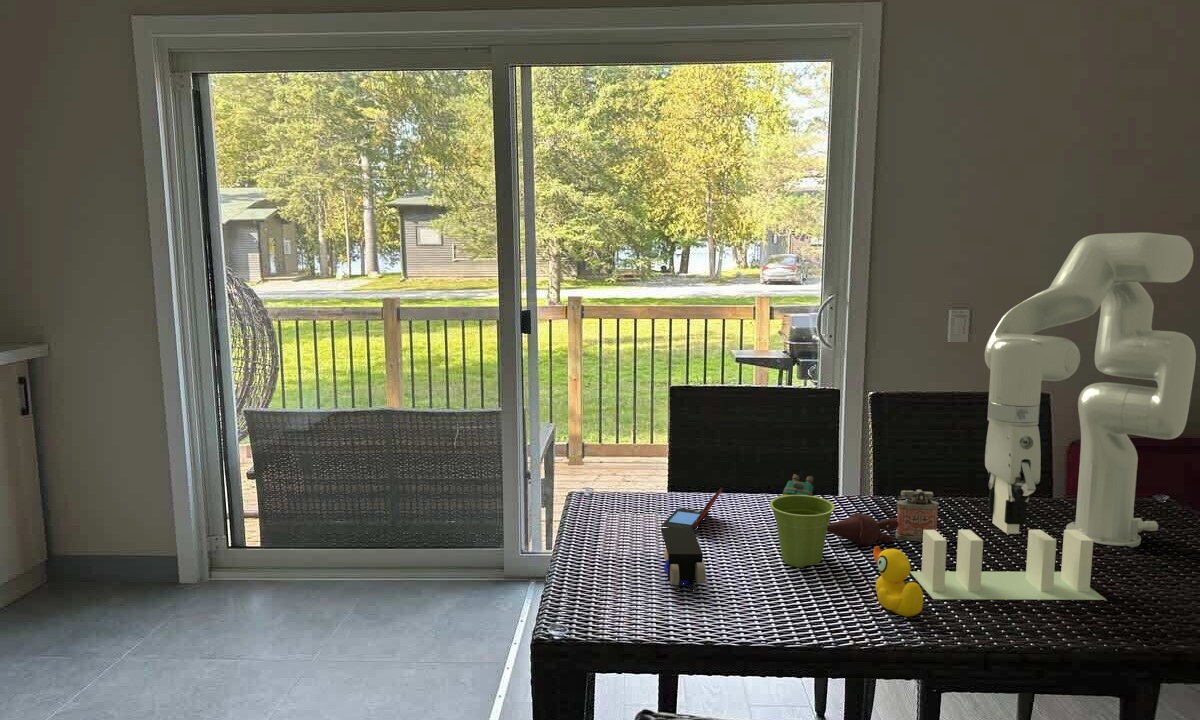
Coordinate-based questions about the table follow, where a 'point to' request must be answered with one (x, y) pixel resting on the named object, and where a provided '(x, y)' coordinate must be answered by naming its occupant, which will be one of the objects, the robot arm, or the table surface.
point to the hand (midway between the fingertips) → (1006, 516)
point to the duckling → (896, 583)
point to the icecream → (863, 529)
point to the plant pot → (801, 527)
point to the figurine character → (683, 557)
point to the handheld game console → (689, 516)
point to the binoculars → (799, 486)
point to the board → (1006, 588)
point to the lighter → (916, 515)
